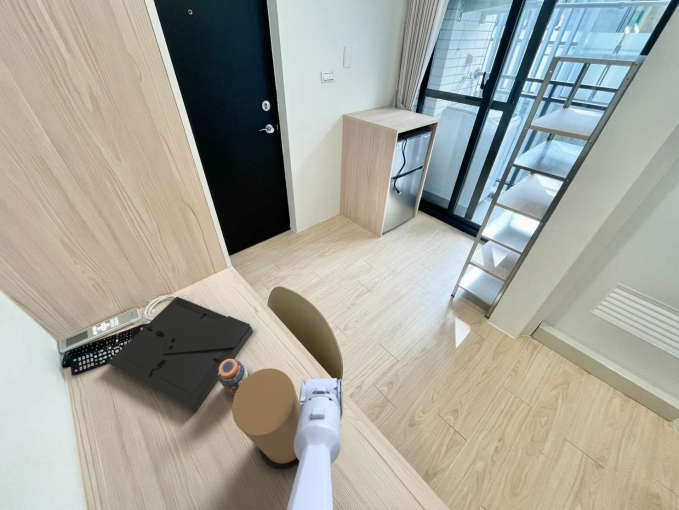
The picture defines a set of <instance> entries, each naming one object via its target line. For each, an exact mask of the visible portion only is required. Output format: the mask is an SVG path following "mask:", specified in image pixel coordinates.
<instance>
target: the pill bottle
mask: <svg viewBox="0 0 679 510" xmlns="http://www.w3.org/2000/svg"><path fill="white" fill-rule="evenodd" d="M246 368H247V367H245V365H244V364H243V362H242V361H240V360H238V359H234V360H233V359H227V360H225V361H223V362H222V363H221V364H220V366H219V373H218V379H219V381H218V382H219V383H220V384H221V385H222V386H223V388H224V389H225V390H226V391H227V393H228V394H229V396H231V397H233V398H234V395H235V393H236V391H237V389H238V387H239V386H240V384H241V383H242V382H243V381H244V380H245V379H246V378H247V377H248V376H250V374H249V372H248V371H247V369H246Z"/></svg>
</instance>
